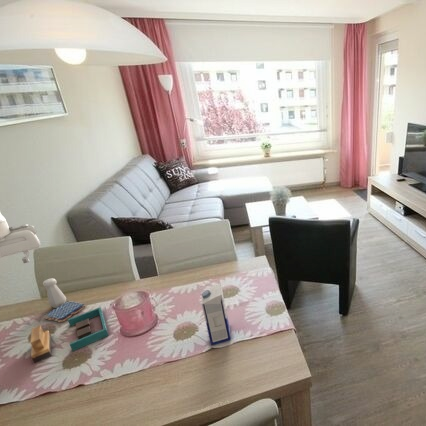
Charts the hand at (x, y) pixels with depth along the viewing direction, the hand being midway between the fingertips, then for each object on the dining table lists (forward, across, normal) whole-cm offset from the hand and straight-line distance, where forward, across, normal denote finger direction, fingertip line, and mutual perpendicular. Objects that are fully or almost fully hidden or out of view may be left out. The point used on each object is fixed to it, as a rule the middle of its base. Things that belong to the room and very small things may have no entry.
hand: (8, 267), depth 103 cm
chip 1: (+29, -13, +10) cm, 34 cm away
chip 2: (+29, -13, +16) cm, 36 cm away
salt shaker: (+29, -6, -16) cm, 34 cm away
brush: (+29, -1, +13) cm, 32 cm away
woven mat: (+29, -8, -7) cm, 31 cm away
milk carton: (+29, -51, +52) cm, 78 cm away
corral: (+29, -14, +13) cm, 35 cm away
